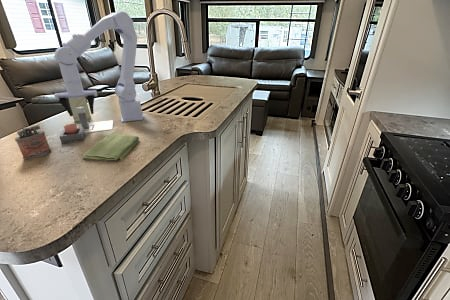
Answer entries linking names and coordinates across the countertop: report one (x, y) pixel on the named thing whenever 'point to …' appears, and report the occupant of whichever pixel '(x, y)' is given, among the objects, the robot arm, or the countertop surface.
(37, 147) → the lighter
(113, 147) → the washcloth
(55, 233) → the countertop surface
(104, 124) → the paper sheet
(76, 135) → the button housing
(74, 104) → the skincare box
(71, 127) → the button
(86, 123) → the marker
